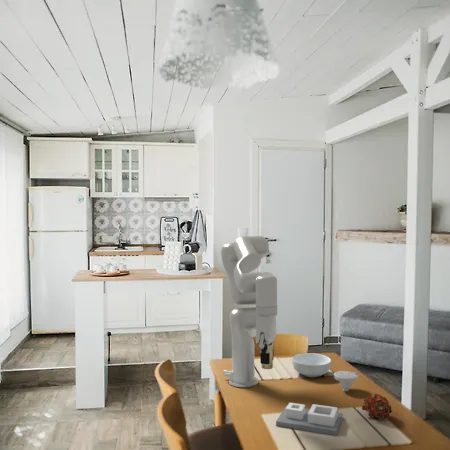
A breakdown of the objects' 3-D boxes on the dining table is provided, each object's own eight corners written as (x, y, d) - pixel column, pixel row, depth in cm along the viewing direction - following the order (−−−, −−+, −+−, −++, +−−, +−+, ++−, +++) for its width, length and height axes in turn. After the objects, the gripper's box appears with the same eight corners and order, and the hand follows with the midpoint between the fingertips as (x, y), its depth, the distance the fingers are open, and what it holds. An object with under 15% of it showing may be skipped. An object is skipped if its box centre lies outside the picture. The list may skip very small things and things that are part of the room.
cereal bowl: (285, 376, 209) (285, 360, 209) (302, 366, 223) (302, 351, 223) (321, 383, 200) (321, 367, 200) (336, 372, 213) (336, 356, 213)
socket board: (276, 425, 161) (276, 412, 160) (286, 409, 174) (286, 397, 174) (336, 435, 153) (336, 421, 153) (342, 417, 166) (342, 404, 166)
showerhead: (362, 375, 188) (338, 376, 187) (363, 393, 188) (338, 395, 187) (354, 368, 197) (330, 368, 196) (354, 385, 197) (330, 386, 196)
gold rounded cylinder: (260, 368, 167) (259, 345, 167) (263, 365, 171) (263, 342, 171) (270, 369, 166) (270, 346, 166) (274, 366, 170) (273, 343, 169)
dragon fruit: (388, 429, 160) (365, 420, 171) (402, 411, 163) (380, 403, 174) (373, 411, 159) (352, 403, 170) (388, 392, 162) (367, 386, 173)
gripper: (263, 305, 177) (264, 354, 178) (248, 314, 162) (249, 367, 162) (283, 306, 174) (283, 356, 175) (269, 316, 159) (270, 370, 159)
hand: (267, 361), depth 168 cm, fingers closed on gold rounded cylinder, 4 cm apart
